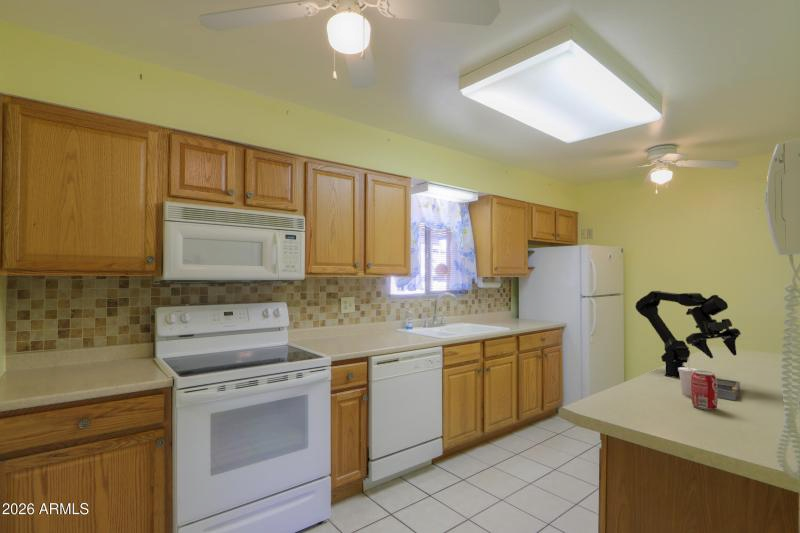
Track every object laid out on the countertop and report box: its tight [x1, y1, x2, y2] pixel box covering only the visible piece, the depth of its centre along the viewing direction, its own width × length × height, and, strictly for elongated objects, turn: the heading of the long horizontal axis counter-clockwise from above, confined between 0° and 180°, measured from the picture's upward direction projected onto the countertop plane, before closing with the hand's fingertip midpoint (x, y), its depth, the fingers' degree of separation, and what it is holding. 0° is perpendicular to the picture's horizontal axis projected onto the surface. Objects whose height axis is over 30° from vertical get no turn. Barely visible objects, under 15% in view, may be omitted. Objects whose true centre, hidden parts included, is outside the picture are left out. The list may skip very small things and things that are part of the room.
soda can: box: [690, 369, 718, 411], centre depth 135 cm, size 7×7×12 cm
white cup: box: [678, 357, 698, 397], centre depth 150 cm, size 6×6×14 cm
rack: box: [716, 377, 741, 402], centre depth 154 cm, size 11×20×3 cm, turn 136°
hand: (723, 356), depth 157 cm, fingers open, 9 cm apart
